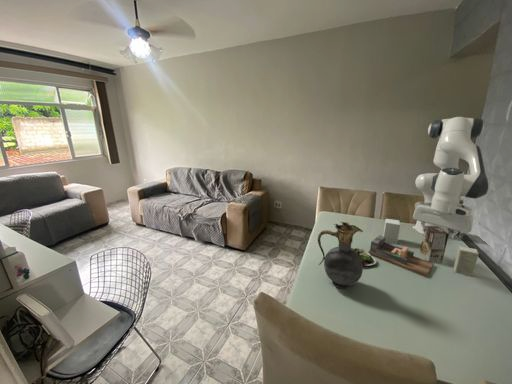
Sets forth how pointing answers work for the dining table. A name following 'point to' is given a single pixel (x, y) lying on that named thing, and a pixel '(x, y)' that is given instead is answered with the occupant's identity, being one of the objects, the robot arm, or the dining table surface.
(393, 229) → the supplement box
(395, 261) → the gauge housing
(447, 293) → the dining table surface
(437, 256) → the coffee box
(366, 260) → the salad plate
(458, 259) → the skincare box
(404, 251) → the block
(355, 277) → the pitcher
